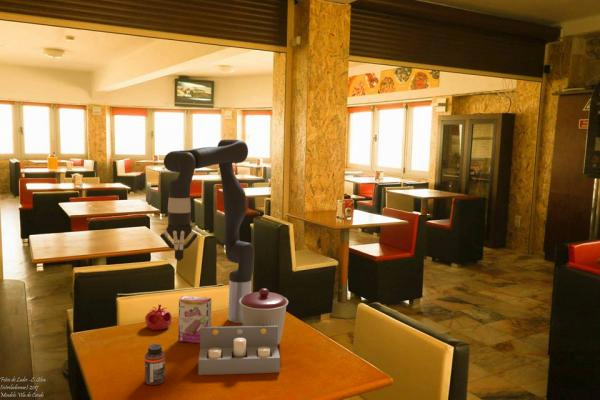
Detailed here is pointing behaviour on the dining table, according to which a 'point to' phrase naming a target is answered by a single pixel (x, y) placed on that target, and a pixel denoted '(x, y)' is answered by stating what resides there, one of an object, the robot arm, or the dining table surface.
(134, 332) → the dining table surface
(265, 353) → the button
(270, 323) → the canister
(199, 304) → the candy bar box
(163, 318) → the pomegranate
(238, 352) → the middle button
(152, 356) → the supplement bottle
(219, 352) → the button
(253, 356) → the console
